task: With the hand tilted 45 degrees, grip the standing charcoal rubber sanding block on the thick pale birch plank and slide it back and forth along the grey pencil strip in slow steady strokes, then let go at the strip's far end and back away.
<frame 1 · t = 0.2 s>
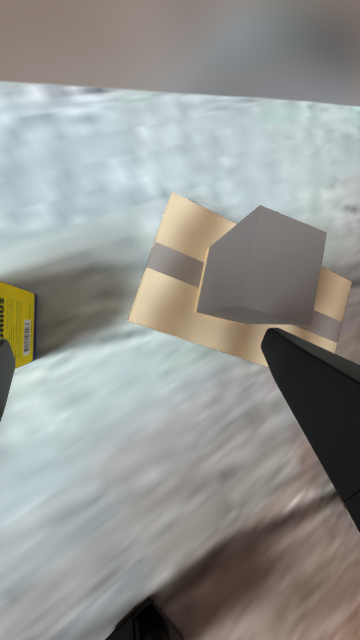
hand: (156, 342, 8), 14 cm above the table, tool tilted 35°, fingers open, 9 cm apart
birch board: (241, 301, 25), on the table
sanding block: (224, 287, 21), point 3 cm above the table, touching birch board
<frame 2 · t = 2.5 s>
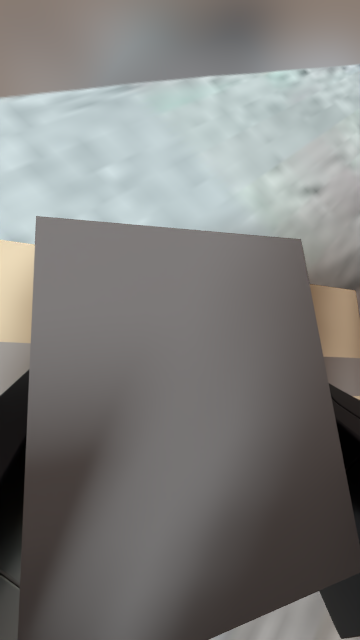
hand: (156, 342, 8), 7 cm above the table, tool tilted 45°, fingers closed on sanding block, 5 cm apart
birch board: (195, 372, 15), on the table
sanding block: (146, 377, 11), point 3 cm above the table, touching birch board, gripper
when the fingers open (6 cm above the table, at t = 8.8 s): sanding block stays where it is, resting on birch board.
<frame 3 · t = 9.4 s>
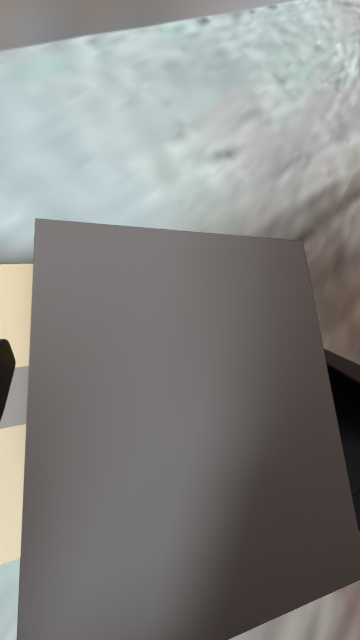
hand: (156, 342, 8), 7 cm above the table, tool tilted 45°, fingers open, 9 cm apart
birch board: (99, 379, 13), on the table
sanding block: (146, 378, 11), point 3 cm above the table, touching birch board
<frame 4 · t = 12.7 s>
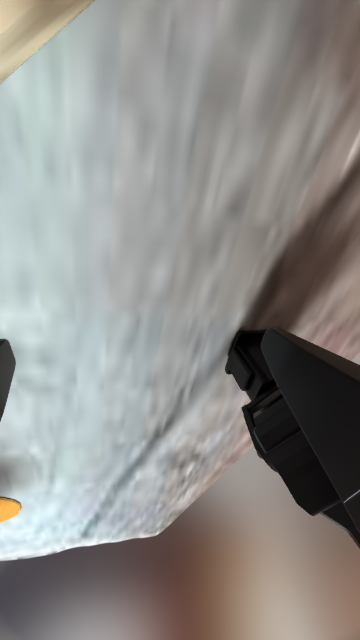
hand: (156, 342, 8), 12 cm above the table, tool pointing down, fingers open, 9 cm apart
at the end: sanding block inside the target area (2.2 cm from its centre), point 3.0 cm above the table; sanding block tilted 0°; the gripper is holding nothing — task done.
